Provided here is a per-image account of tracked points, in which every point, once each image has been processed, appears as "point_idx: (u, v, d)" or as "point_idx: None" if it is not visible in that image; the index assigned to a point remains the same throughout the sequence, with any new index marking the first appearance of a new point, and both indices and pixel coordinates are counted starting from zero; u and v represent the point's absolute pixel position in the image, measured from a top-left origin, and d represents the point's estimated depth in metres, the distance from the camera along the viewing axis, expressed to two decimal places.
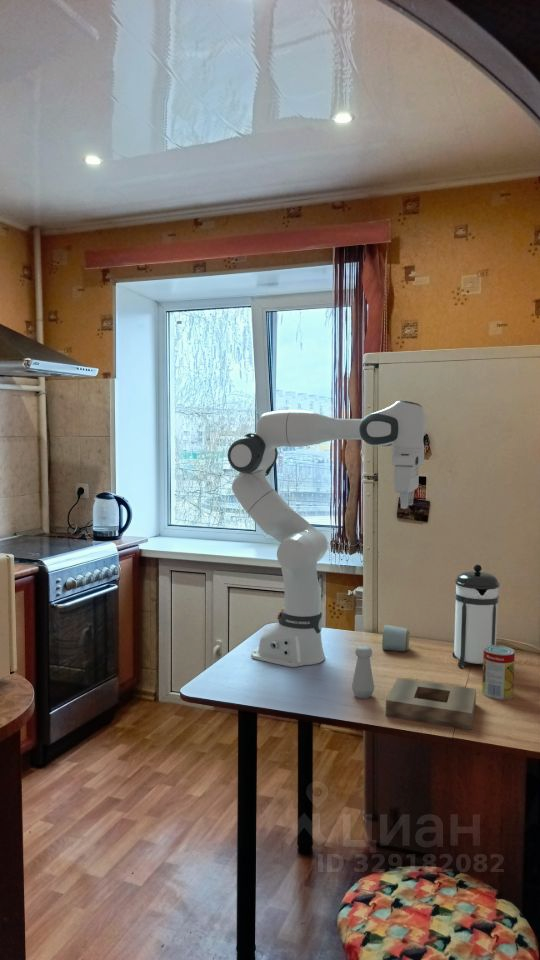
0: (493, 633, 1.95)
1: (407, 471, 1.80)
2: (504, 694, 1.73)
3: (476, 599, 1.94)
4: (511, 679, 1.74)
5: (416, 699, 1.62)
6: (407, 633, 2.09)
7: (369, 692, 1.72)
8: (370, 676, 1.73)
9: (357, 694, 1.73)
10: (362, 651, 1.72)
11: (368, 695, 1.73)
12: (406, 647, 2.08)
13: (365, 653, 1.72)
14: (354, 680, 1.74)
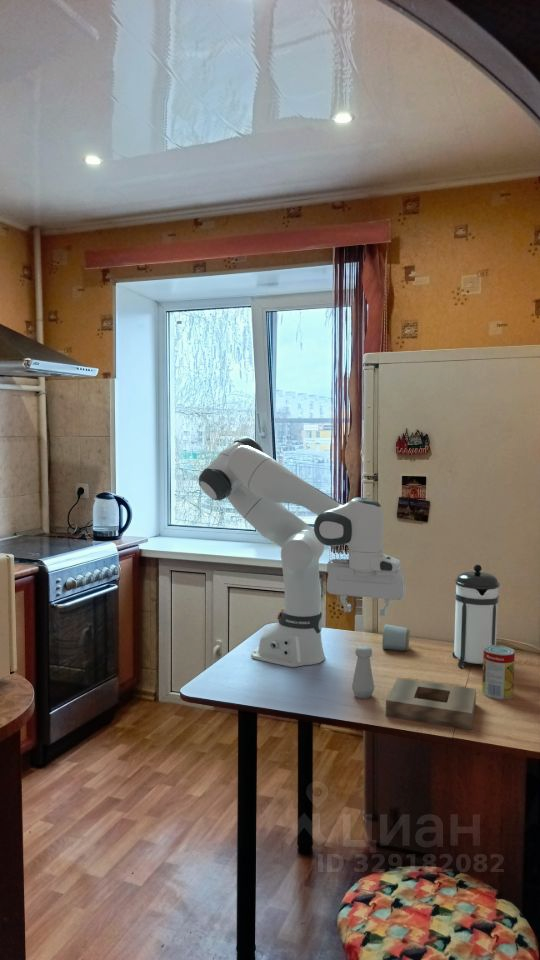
0: (493, 633, 1.95)
1: (403, 575, 1.70)
2: (504, 694, 1.73)
3: (476, 599, 1.94)
4: (511, 679, 1.74)
5: (416, 699, 1.62)
6: (407, 632, 2.10)
7: (369, 692, 1.72)
8: (370, 676, 1.73)
9: (357, 694, 1.73)
10: (362, 651, 1.72)
11: (368, 695, 1.73)
12: (406, 646, 2.09)
13: (365, 653, 1.72)
14: (354, 680, 1.74)
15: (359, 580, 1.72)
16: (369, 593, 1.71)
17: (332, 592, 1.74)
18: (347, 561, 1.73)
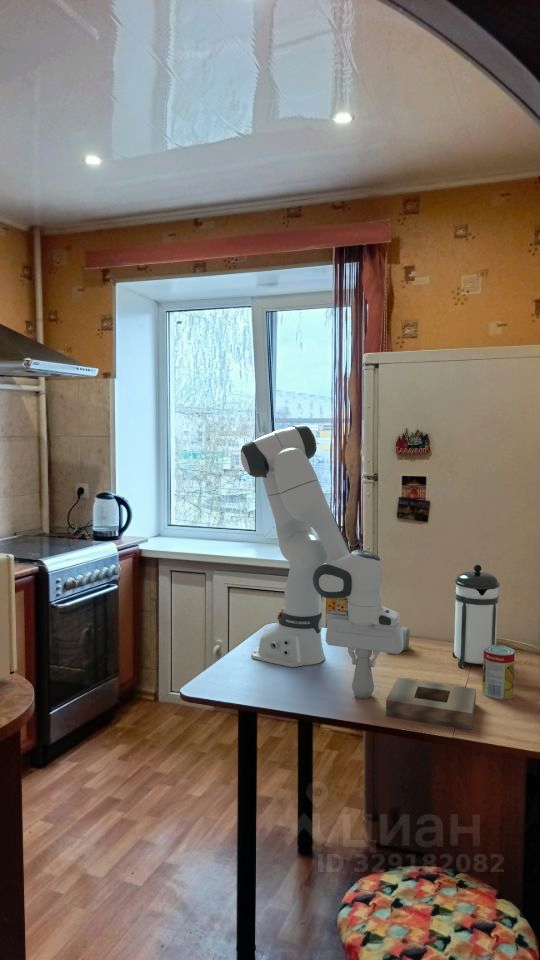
0: (493, 633, 1.95)
1: (401, 628, 1.71)
2: (504, 694, 1.73)
3: (476, 599, 1.94)
4: (511, 679, 1.74)
5: (416, 699, 1.62)
6: (407, 632, 2.10)
7: (369, 692, 1.72)
8: (370, 676, 1.73)
9: (357, 694, 1.73)
10: (361, 651, 1.72)
11: (368, 695, 1.73)
12: (406, 646, 2.09)
13: (364, 653, 1.72)
14: (354, 680, 1.74)
15: (358, 633, 1.73)
16: (368, 646, 1.72)
17: (331, 644, 1.75)
18: (346, 613, 1.74)
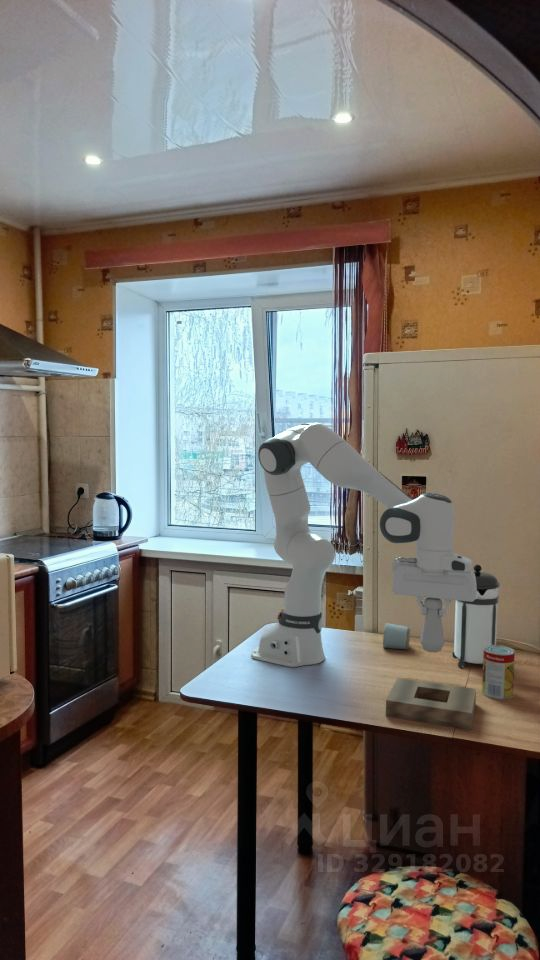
0: (493, 633, 1.95)
1: (474, 575, 1.61)
2: (504, 694, 1.73)
3: (476, 599, 1.94)
4: (511, 679, 1.74)
5: (416, 699, 1.62)
6: (408, 631, 2.11)
7: (440, 645, 1.63)
8: (441, 628, 1.63)
9: (427, 648, 1.63)
10: (432, 602, 1.62)
11: (439, 649, 1.63)
12: (407, 645, 2.10)
13: (435, 604, 1.62)
14: (423, 633, 1.64)
15: (428, 580, 1.63)
16: (439, 594, 1.62)
17: (398, 592, 1.65)
18: (414, 560, 1.65)
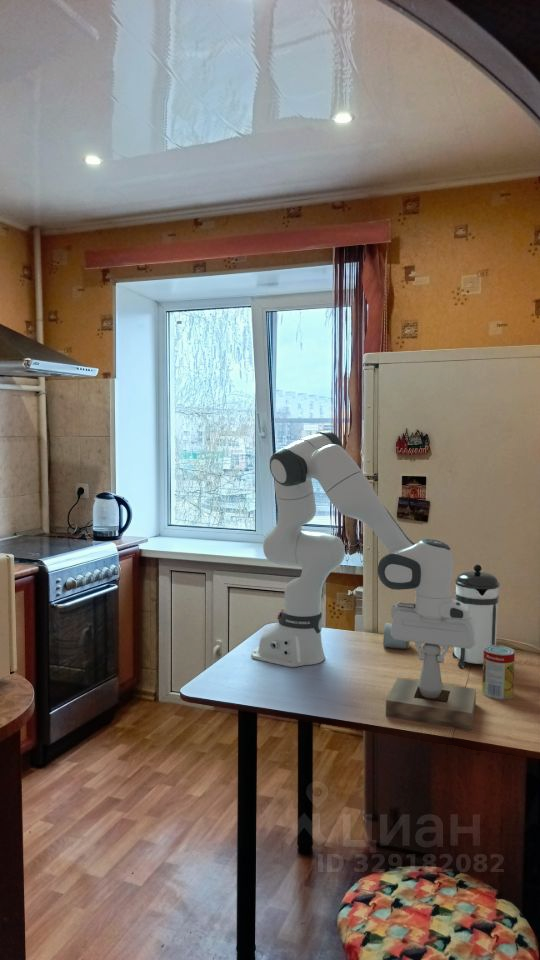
0: (493, 633, 1.95)
1: (473, 622, 1.62)
2: (504, 694, 1.73)
3: (476, 599, 1.94)
4: (511, 679, 1.74)
5: (416, 699, 1.62)
6: None
7: (438, 691, 1.63)
8: (439, 674, 1.64)
9: (425, 694, 1.64)
10: (431, 649, 1.63)
11: (437, 695, 1.64)
12: (407, 645, 2.11)
13: (434, 650, 1.63)
14: (422, 679, 1.64)
15: (426, 626, 1.63)
16: (437, 640, 1.62)
17: (397, 638, 1.66)
18: (413, 605, 1.65)
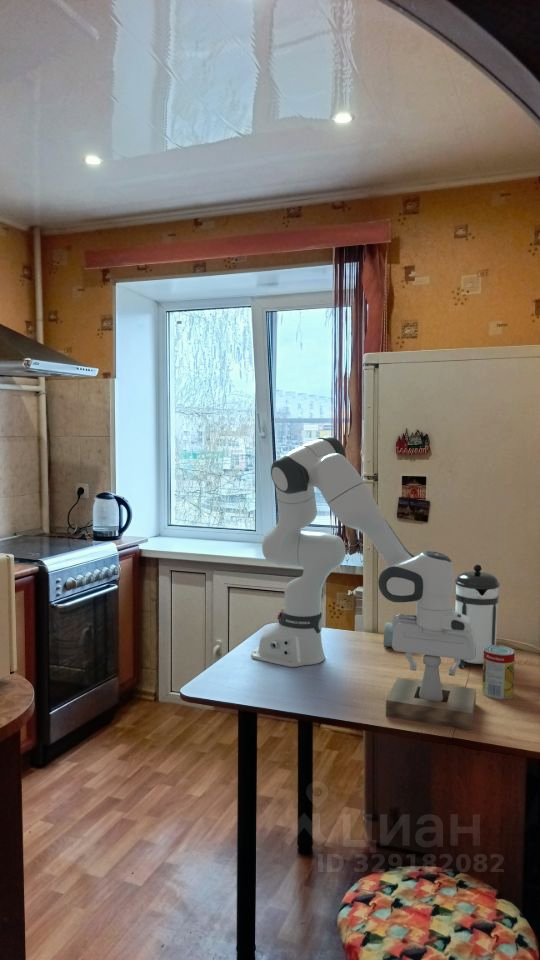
0: (493, 633, 1.95)
1: None
2: (504, 694, 1.73)
3: (476, 599, 1.94)
4: (511, 679, 1.74)
5: (416, 699, 1.62)
6: None
7: None
8: (439, 685, 1.64)
9: None
10: (431, 660, 1.63)
11: None
12: None
13: (434, 662, 1.63)
14: (422, 690, 1.65)
15: (427, 638, 1.64)
16: (438, 652, 1.63)
17: (398, 649, 1.66)
18: (414, 617, 1.66)
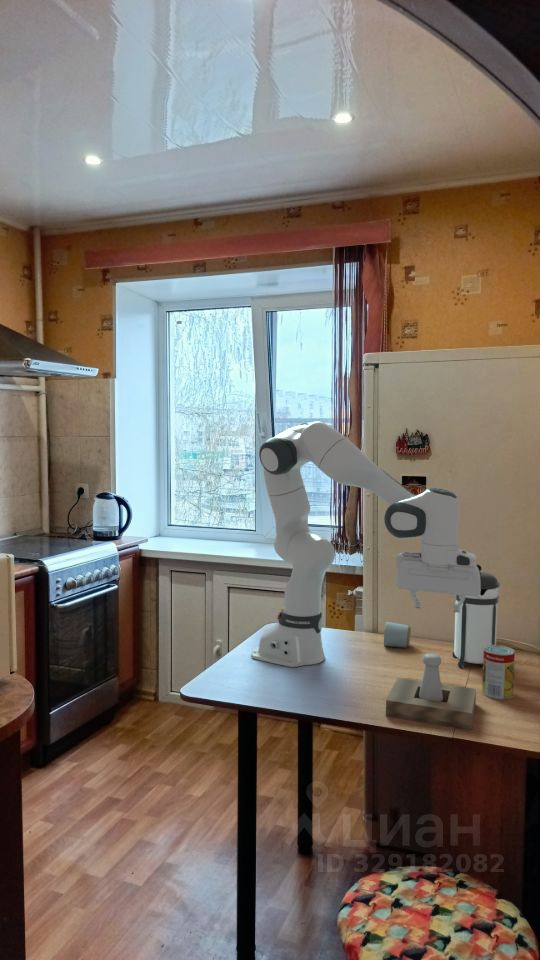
0: (493, 633, 1.95)
1: (478, 570, 1.62)
2: (504, 694, 1.73)
3: (476, 599, 1.94)
4: (511, 679, 1.74)
5: (416, 699, 1.62)
6: (408, 630, 2.13)
7: None
8: (439, 685, 1.64)
9: None
10: (431, 660, 1.63)
11: None
12: (407, 643, 2.12)
13: (434, 662, 1.63)
14: (422, 690, 1.65)
15: (432, 575, 1.63)
16: (443, 589, 1.62)
17: (402, 587, 1.66)
18: (419, 555, 1.65)
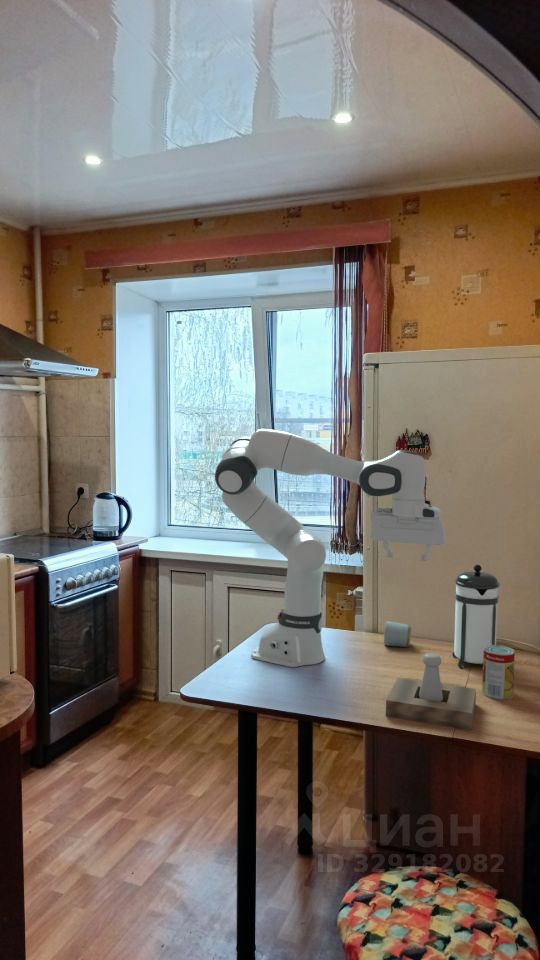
0: (493, 633, 1.95)
1: (443, 522, 1.82)
2: (504, 694, 1.73)
3: (476, 599, 1.94)
4: (511, 679, 1.74)
5: (416, 699, 1.62)
6: (408, 629, 2.13)
7: None
8: (440, 685, 1.64)
9: None
10: (431, 660, 1.63)
11: None
12: (407, 643, 2.13)
13: (434, 662, 1.63)
14: (422, 690, 1.65)
15: (402, 527, 1.83)
16: (411, 539, 1.82)
17: (376, 539, 1.85)
18: (390, 510, 1.85)
